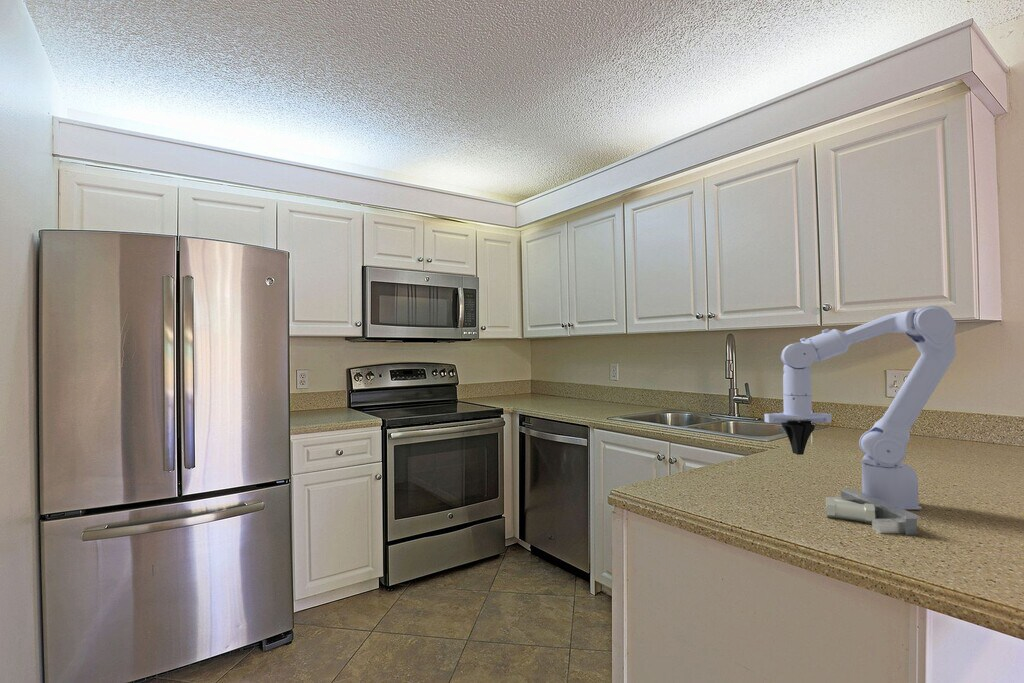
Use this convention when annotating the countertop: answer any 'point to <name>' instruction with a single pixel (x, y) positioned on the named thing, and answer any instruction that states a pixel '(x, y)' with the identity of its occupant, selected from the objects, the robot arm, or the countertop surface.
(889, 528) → the grey bracket
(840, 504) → the pipe fitting
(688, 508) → the countertop surface
